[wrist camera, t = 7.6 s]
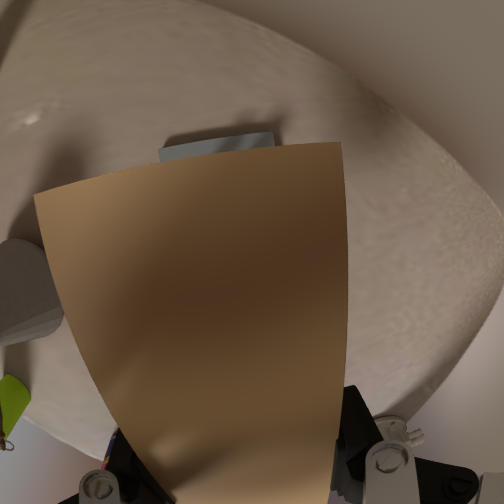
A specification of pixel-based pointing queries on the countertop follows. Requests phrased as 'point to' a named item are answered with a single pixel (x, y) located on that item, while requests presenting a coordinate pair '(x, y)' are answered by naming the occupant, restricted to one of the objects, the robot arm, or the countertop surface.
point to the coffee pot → (25, 298)
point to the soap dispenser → (12, 401)
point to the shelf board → (213, 314)
